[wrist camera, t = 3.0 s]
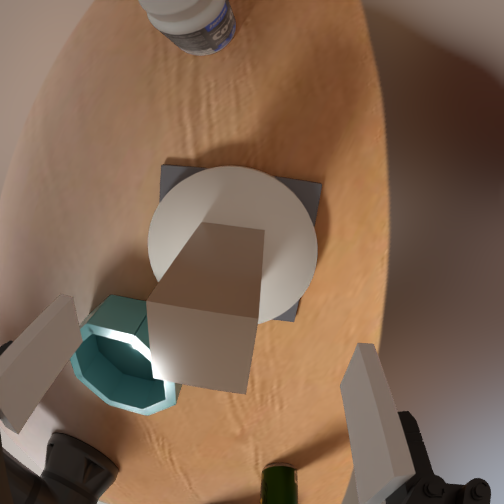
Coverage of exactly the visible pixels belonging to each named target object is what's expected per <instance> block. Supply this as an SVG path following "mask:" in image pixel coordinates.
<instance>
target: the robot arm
mask: <svg viewBox="0 0 504 504" xmlns="http://www.w3.org/2000/svg"><path fill="white" fill-rule="evenodd" d="M82 342H83V340H82V336H81V332H80V328H79V323H78V319H77V314H76V309H75V305H74V299H73V297H71V296H67V295H63V294H61V295H59V296H58V297H57V298H56V299H55V300H54V301H53V302H52V303H51V304H50V305H49V306H48V307H47V308H46V309H45V310H44V311H43V312H42V313H41V314H40V315H39V316H38V317H37V318H36V319H35V320H34V321H33V322H32V323H31V324H30V325H29V326H28V327H27V328H26V329H25V330H24V331H23V332H22V333H21V334H20V335H19V336H18V337H17V338H16V339H15V341H14V342H13V341H9V342H7V343H5V344H4V345H2V346H1V347H0V419H1V421H2V422H3V423H4V425H5V426H6V427H7V428H8V429H10V430H12V431H13V432H15V433H17V434H19V433H20V431H21V430H22V428H23V426H24V425H25V423H26V422H27V420H28V419H29V417H30V416H31V414H32V413H33V411H34V409H35V408H36V406H37V405H38V404H39V402H40V401H41V399H42V398H43V396H44V395H45V393H46V392H47V390H48V389H49V387H50V386H51V385H52V383H53V382H54V380H55V379H56V377H57V376H58V375H59V373H60V372H61V371H62V369H63V368H64V366H65V365H66V364H67V362H68V361H69V360H70V358H71V357H72V355H73V354H74V353H75V351H76V350H77V349H78V347H79V346H80V345H81V343H82ZM340 388H341V394H342V399H343V404H344V410H345V415H346V421H347V427H348V433H349V439H350V445H351V451H352V458H353V464H354V471H355V478H356V486H357V493H358V501H359V504H380V503H382V502H383V501H384V500H386V504H490V498H491V489H490V486H489V485H488V483H487V482H486V481H485V480H483V479H480V478H474V479H473V480H471V481H469V482H468V483H467V484H466V485H458V484H448V483H445V481H444V480H443V479H442V478H441V477H439V476H437V475H435V474H434V473H433V470H432V467H431V464H430V460H429V457H428V455H427V451H426V448H425V445H424V442H423V441H422V440H423V439H422V436H421V433H420V430H419V427H418V424H417V421H416V420H415V418H414V417H413V416H412V415H411V414H410V412H409V411H403V412H397V409H396V406H395V403H394V400H393V397H392V394H391V391H390V388H389V385H388V382H387V380H386V377H385V374H384V371H383V368H382V365H381V363H380V360H379V357H378V354H377V352H376V349H375V346H374V344H368V343H358V344H357V346H356V349H355V351H354V354H353V356H352V359H351V361H350V363H349V366H348V368H347V370H346V373H345V375H344V377H343V380H342V382H341V384H340ZM117 474H118V469H117V467H116V466H115V465H114V463H113V462H111V461H110V460H109V459H108V458H107V457H106V456H104V455H103V454H101V453H100V452H99V451H97V450H95V449H94V448H92V447H91V446H89V445H87V444H85V443H83V442H81V441H79V440H77V439H75V438H73V437H70V436H68V435H64V434H60V433H54V434H52V436H51V438H50V439H49V441H48V445H47V452H46V461H45V468H44V470H43V472H42V474H41V476H40V477H39V476H38V475H37V474H35V473H34V472H33V471H31V470H30V469H29V468H27V467H26V466H25V465H23V464H22V463H21V462H19V461H18V460H17V459H16V458H14V457H13V456H12V455H11V454H10V453H9V452H7V451H6V450H5V449H4V448H3V447H2V442H1V434H0V504H97V502H98V499H99V498H100V496H101V495H102V494H103V493H104V492H105V491H106V490H107V489H108V488H109V487H110V486H111V485H112V484H113V483H114V481H115V480H116V477H117Z"/></svg>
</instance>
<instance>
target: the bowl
mask: <svg viewBox="0 0 504 504" xmlns="http://www.w3.org/2000/svg"><path fill="white" fill-rule="evenodd" d="M79 328H80V332H81V336H82V340H83V342H82V343H81V345H80V346H79V347H78V349H77V350H76V351H75V353H74V354H73V355H72V357H71V358H70V361H71V364H72V367H73V370H74V373H75V376H76V377H77V378H78V379H79V380H80V381H81V382H82V383H83V384H85V385H86V386H87V387H88V388H89V389H90V390H91V391H92V392H94V393H95V394H96V395H97V396H98V397H99V398H101V399H102V400H103V401H104V402H105V403H107V404H109V405H111V406H114V407H117V408H121V409H124V410H128V411H131V412H135V413H139V414H142V415H146V416H147V415H148V416H149V415H151V414H154V413H156V412H159V411H161V410H164V409H166V408H169V407H171V406H173V405H176V403H177V400H178V397H179V393H180V390H181V387H182V384H179V383H174V382H169V381H165V380H160V379H156V378H153V371H152V363H151V354H150V344H149V332H148V320H147V306H146V301H142V300H136V299H131V298H126V297H121V296H116V295H110V296H108V297H107V298H106V299H105V300H104V301H103V302H102V303H101V304H100V305H99V306H97V307H96V308H95V309H94V310H93V311H92V312H91V313H90V314H89V315H88V316H87V317H86V318H85V320H84V321H83V322H82V323H81V324H80V326H79Z"/></svg>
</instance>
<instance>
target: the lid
mask: <svg viewBox="0 0 504 504" xmlns="http://www.w3.org/2000/svg"><path fill="white" fill-rule="evenodd" d="M148 254H149V259H150V264H151V267H152V269H153V272H154V275H155V277H156V279H157V281H158V284H157V285H156V287H155V288H154V290H153V291H152V293H151V294H150V296H149V297H148V299H147V300H146V306H147V320H148V332H149V344H150V354H151V363H152V371H153V378H156V379H160V380H165V381H169V382H174V383H179V384H184V385H189V386H195V387H200V388H206V389H212V390H219V391H225V392H232V393H239V394H246V391H247V385H248V379H249V373H250V367H251V361H252V355H253V350H254V344H255V338H256V331H257V325H258V324H260V323H264V322H266V321H269V320H271V319H274V318H276V317H277V316H279V315H281V314H283V313H284V312H286V311H287V310H288V309H290V308H291V307H292V306H293V305H294V304H295V303H296V302H297V301H298V300H299V299H300V298H301V297H302V295H303V294H304V293H305V291H306V289H307V288H308V286H309V284H310V282H311V280H312V278H313V275H314V272H315V268H316V263H317V256H318V245H317V238H316V233H315V230H314V226H313V223H312V221H311V219H310V216H309V214H308V212H307V210H306V208H305V207H304V205H303V203H302V202H301V200H300V199H299V198H298V197H297V195H296V194H295V193H294V192H293V191H292V190H291V189H290V188H289V187H288V186H286V185H285V184H284V183H283V182H281V181H280V180H278V179H277V178H275V177H273V176H271V175H269V174H267V173H265V172H263V171H260V170H257V169H254V168H249V167H244V166H232V165H228V166H217V167H213V168H208V169H205V170H202V171H200V172H197V173H195V174H193V175H191V176H190V177H188V178H186V179H184V180H183V181H181V182H180V183H178V184H177V185H176V186H175V187H173V188H172V189H171V190H170V191H169V192H168V193H167V194H166V195H165V197H164V198H163V199H162V201H161V202H160V203H159V205H158V207H157V209H156V211H155V213H154V215H153V218H152V221H151V223H150V228H149V233H148Z"/></svg>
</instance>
